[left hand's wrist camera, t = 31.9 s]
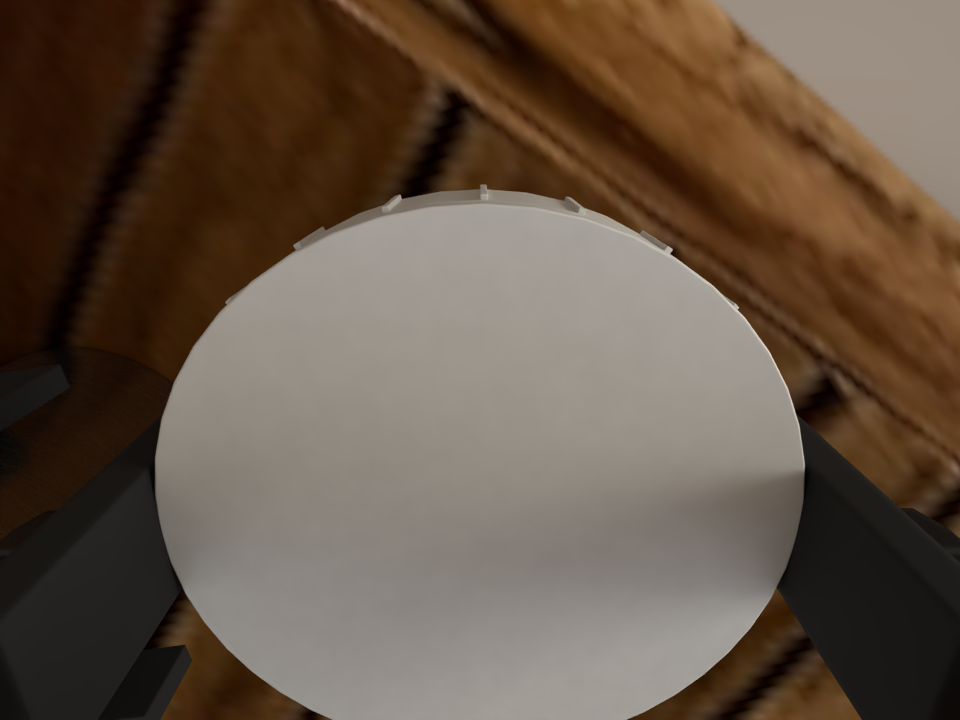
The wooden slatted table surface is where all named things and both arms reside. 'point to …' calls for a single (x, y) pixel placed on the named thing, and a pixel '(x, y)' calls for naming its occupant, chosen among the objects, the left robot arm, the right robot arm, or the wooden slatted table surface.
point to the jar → (74, 429)
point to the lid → (479, 466)
